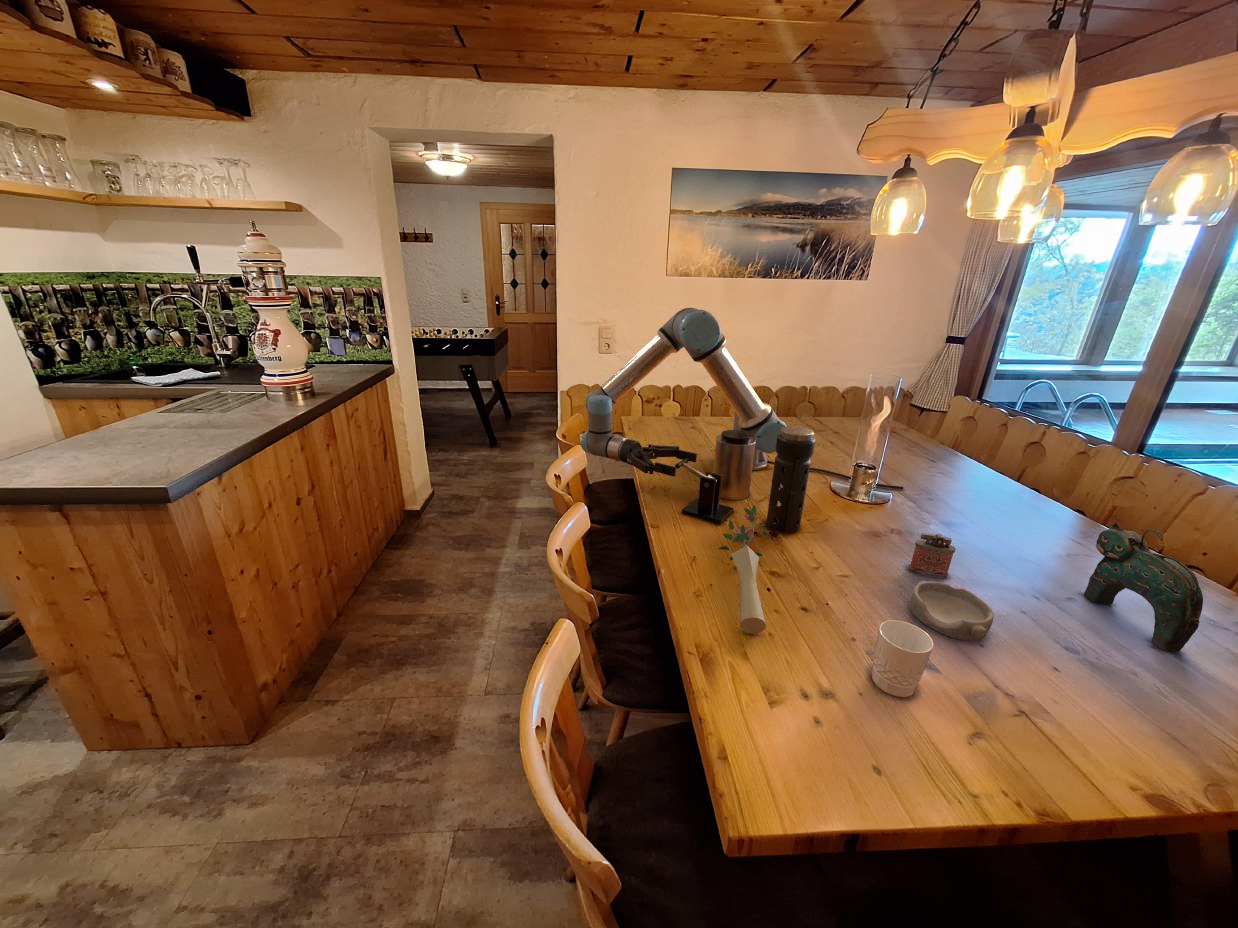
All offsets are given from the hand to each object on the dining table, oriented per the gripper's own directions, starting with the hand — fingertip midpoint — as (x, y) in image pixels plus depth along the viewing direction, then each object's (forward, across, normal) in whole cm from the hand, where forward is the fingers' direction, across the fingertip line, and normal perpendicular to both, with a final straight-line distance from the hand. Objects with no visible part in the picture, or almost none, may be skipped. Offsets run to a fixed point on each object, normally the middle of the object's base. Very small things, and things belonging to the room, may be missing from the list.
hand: (686, 464), depth 143 cm
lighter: (+64, -2, -14) cm, 65 cm away
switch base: (+8, 0, -13) cm, 16 cm away
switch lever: (+3, 0, -3) cm, 4 cm away
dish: (+68, +16, -14) cm, 71 cm away
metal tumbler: (+8, -18, -13) cm, 24 cm away
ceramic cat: (+99, -6, -14) cm, 100 cm away
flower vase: (+30, +28, -14) cm, 43 cm away
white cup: (+61, +41, -14) cm, 75 cm away
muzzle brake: (+29, -4, -14) cm, 32 cm away
